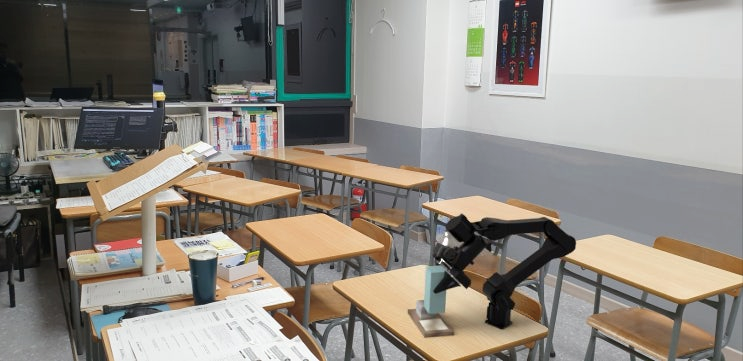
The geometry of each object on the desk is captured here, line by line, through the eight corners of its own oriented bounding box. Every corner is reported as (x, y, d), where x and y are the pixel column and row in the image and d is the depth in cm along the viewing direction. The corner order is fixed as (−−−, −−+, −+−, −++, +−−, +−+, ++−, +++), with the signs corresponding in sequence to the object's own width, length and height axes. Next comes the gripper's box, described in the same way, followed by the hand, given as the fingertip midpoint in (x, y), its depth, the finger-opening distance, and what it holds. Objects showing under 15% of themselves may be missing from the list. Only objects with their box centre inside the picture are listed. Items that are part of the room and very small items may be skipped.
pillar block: (439, 305, 163) (441, 265, 160) (445, 312, 158) (447, 271, 155) (423, 306, 162) (425, 266, 159) (429, 314, 157) (430, 272, 154)
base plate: (433, 310, 173) (434, 295, 172) (453, 335, 157) (454, 318, 156) (407, 312, 171) (408, 297, 170) (424, 337, 155) (425, 320, 154)
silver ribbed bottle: (433, 280, 200) (436, 229, 196) (449, 278, 202) (452, 227, 198) (441, 286, 194) (444, 234, 190) (457, 284, 196) (461, 232, 193)
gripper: (439, 225, 165) (404, 261, 165) (462, 243, 147) (423, 284, 147) (462, 248, 168) (427, 284, 168) (487, 269, 150) (449, 308, 150)
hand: (431, 289), depth 158 cm, fingers closed on pillar block, 5 cm apart
